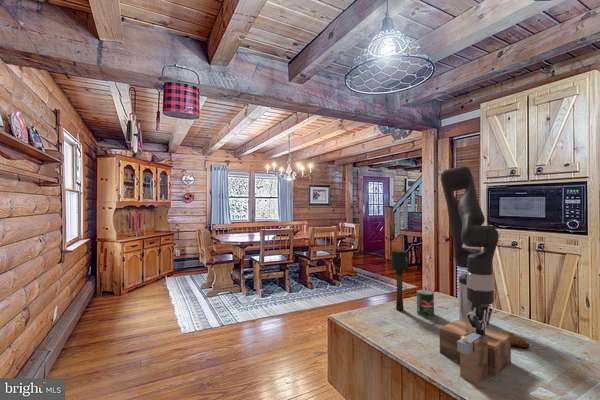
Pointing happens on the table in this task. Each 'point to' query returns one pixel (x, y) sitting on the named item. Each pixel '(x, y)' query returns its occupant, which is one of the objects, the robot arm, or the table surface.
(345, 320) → the table surface
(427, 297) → the canned tomato
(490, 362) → the toolbox
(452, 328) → the lid
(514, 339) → the croissant
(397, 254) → the stick grenade
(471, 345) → the drawer
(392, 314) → the table surface
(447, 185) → the robot arm
